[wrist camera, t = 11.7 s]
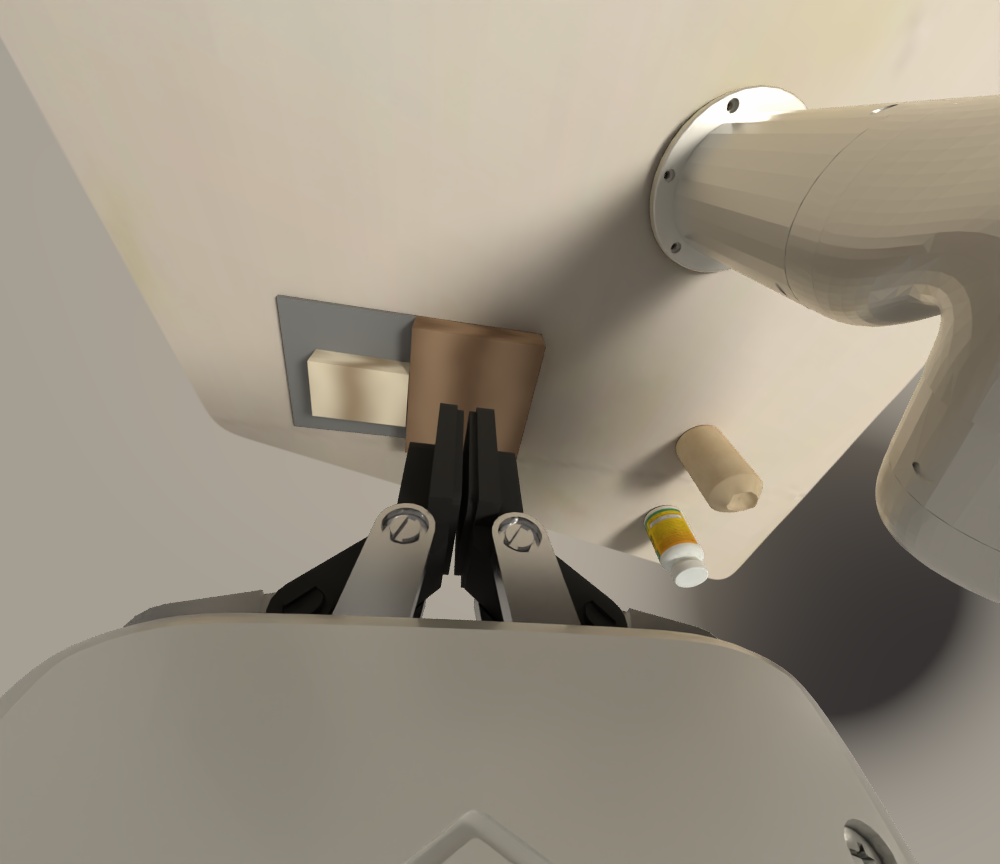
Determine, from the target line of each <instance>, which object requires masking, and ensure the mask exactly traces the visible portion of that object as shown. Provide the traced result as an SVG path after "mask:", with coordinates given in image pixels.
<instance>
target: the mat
mask: <svg viewBox="0 0 1000 864" xmlns="http://www.w3.org/2000/svg"><path fill="white" fill-rule="evenodd" d="M276 298H277V305H278V312H279V319H280V326H281V333H282V340H283V348H284V355H285V362H286V369H287V376H288V383H289V391H290V398H291V405H292V412H293V419H294V426H299V427H308V428H318V429H327V430H336V431H346V432H355V433H365V434H374V435H383V436H393V437H402V438H406V430H407V422H406V426H405V427H403V426H394V425H386V424H378V423H369V422H361V421H352V420H344V419H336V418H327V417H319V416H312V406H311V395H310V385H309V374H308V363H307V361H308V359H309V358H310V357H311V355H312V354H313V352H314V351H315V350H316V349H319V350H326V351H332V352H339V353H346V354H353V355H360V356H367V357H374V358H381V359H388V360H395V361H402V362H409V363H410V358H411V340H412V327H413V324H414V320H415V317H416V315H410V314H403V313H396V312H390V311H383V310H376V309H370V308H363V307H356V306H350V305H343V304H337V303H330V302H323V301H317V300H310V299H303V298H297V297H290V296H284V295H278V296H276Z"/></svg>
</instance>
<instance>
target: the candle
mask: <svg viewBox="0 0 1000 864" xmlns="http://www.w3.org/2000/svg"><path fill="white" fill-rule="evenodd" d="M676 453H677V455H678V457H679V459H680V460H681V462H682V464H683V465H684V467H685V468H686V470H687V471H688V473H689V474H690V476H691V478H692V479H693V481H694V482H695V484H696V485H697V487H698V489H699V490H700V492H701V493H702V495H703V496H704V498H705V499H706V501H707V503H708V504H709V506H710V507H711V508H712V509H714V510H716V511H720V512H737V511H744V510H747V509H750V508H753V507H755V506H756V504H757V501H758V498H759V496H760V494H761V491H762V488H763V483H762V480H761V479H760V478H759V476H758V475H757V474H756V473H755V472H754V470H753V469H752V468H751V467H750V466H749V465H748V463H747V462H746V461H745V460H744V459H743V457H742V456H741V455H740V454H739V453H738V451H737V450H736V449H735V448H734V447H733V445H732V444H731V443H730V442H729V441H728V439H727V438H726V437H725V436H724V435H723V434H722V432H721V431H720V430H718V429H717V428H716V427H713V426H710V425H702V426H697V427H694V428H692V429H690V430H688V431H687V432H685V433H684V434H683V435H682V436H681V437H680V438H679V440H678V442H677V444H676Z"/></svg>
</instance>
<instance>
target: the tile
mask: <svg viewBox="0 0 1000 864" xmlns="http://www.w3.org/2000/svg"><path fill="white" fill-rule="evenodd" d="M307 363H308V374H309V385H310V395H311V406H312V416H319V417H327V418H336V419H344V420H352V421H361V422H369V423H378V424H386V425H394V426H403V427H405V426H406V422H407V412H408V394H409V376H410V363H409V362H402V361H395V360H388V359H381V358H374V357H367V356H360V355H353V354H346V353H339V352H332V351H326V350H319V349H316V350H315V351H314V352H313V354H312V355H311V357H310V358H309V359H308V361H307Z"/></svg>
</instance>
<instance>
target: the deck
mask: <svg viewBox="0 0 1000 864" xmlns="http://www.w3.org/2000/svg"><path fill="white" fill-rule="evenodd" d="M545 348H546V347H545V344H544V341H543V338H542V335H541V334H535V333H529V332H522V331H516V330H509V329H502V328H496V327H489V326H482V325H476V324H469V323H463V322H456V321H449V320H443V319H436V318H429V317H423V316H416V317H415V320H414V324H413V327H412V340H411V358H410V376H409V394H408V412H407V430H406V448H405V452H408V448H409V444H410V442H417V443H426V444H435V442H436V434H437V425H438V417H439V409H440V403H446V404H454V405H458V410H464V432H463V447H464V440H465V434H466V428H467V422H468V415H469V411H473V412H476V408H477V407H479V408H487V409H494V411H495V424H496V436H497V448H498V451H502V452H512V453H515V456H516V459H517V455H518V451H519V447H520V444H521V440H522V436H523V432H524V428H525V425H526V421H527V417H528V413H529V409H530V405H531V402H532V398H533V394H534V390H535V386H536V382H537V379H538V375H539V371H540V367H541V363H542V360H543V356H544V352H545Z"/></svg>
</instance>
